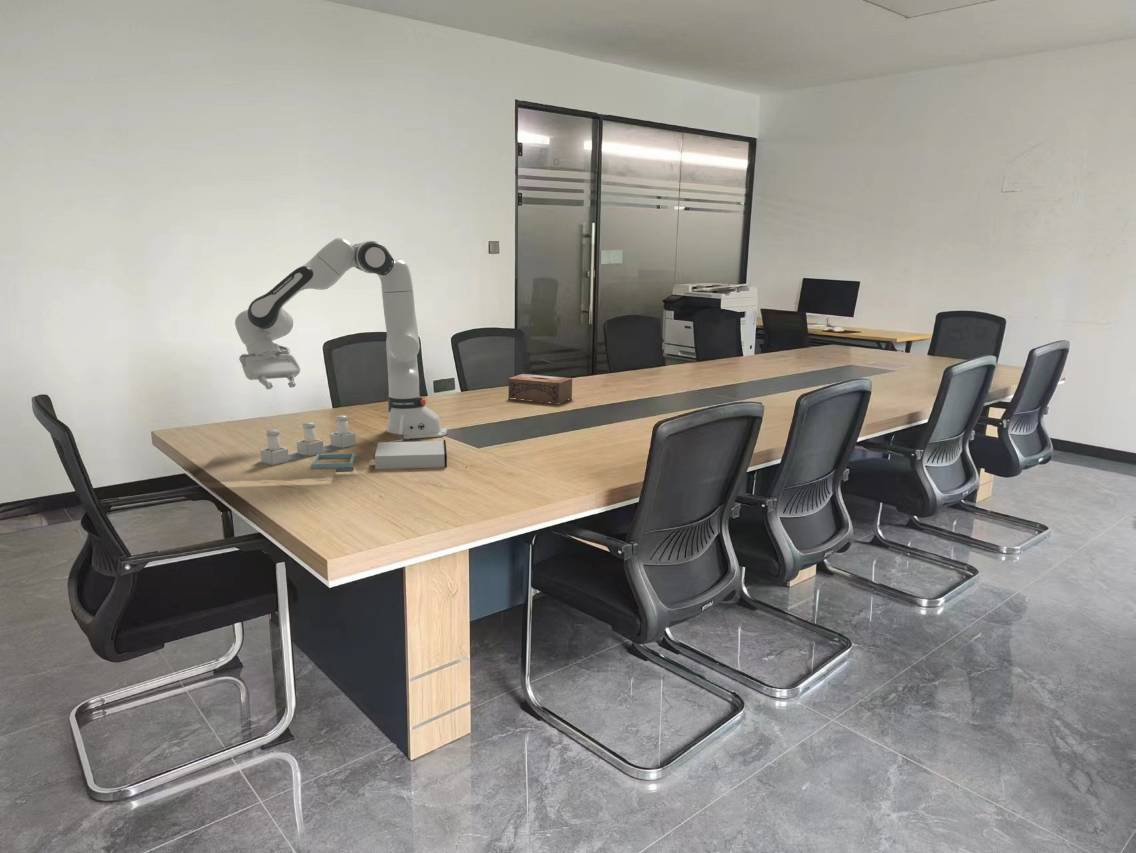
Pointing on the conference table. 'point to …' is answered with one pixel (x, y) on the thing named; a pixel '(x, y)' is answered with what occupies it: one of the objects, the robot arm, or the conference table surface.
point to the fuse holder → (307, 449)
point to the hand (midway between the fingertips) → (281, 387)
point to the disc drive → (411, 454)
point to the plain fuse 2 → (342, 425)
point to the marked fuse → (309, 432)
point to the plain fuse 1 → (273, 440)
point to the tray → (335, 465)
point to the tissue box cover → (540, 388)
